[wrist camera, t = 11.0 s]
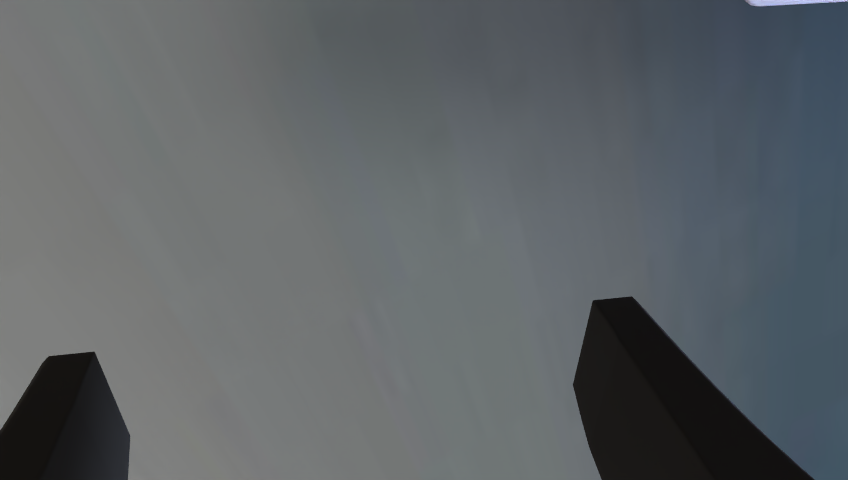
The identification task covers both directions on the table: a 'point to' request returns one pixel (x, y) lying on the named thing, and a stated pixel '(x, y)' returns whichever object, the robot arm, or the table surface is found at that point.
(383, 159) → the table surface
